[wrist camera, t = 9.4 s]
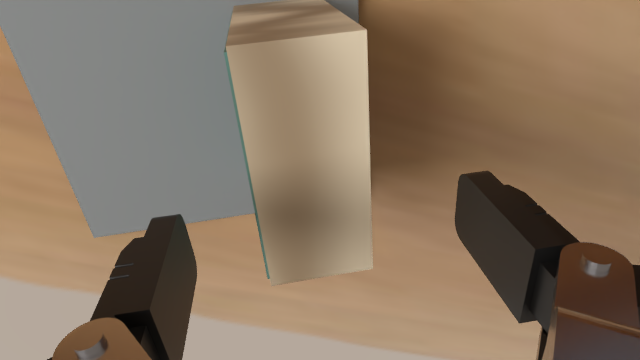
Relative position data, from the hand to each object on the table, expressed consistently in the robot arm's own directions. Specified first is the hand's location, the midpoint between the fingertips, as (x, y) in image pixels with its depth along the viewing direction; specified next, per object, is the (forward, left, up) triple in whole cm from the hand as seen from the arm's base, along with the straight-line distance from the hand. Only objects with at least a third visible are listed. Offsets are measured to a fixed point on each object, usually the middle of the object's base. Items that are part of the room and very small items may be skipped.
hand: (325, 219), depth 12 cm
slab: (0, 0, -11) cm, 11 cm away
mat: (+4, 0, -12) cm, 13 cm away
